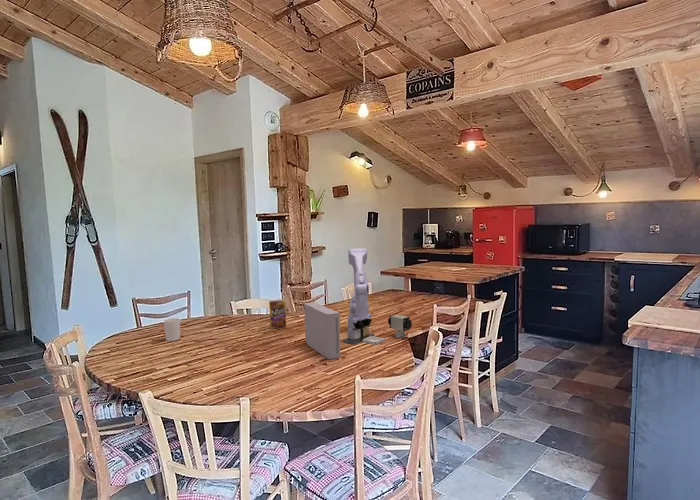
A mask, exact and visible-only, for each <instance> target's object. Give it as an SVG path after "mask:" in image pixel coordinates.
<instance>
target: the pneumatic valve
mask: <svg viewBox="0 0 700 500" xmlns="http://www.w3.org/2000/svg"><path fill="white" fill-rule="evenodd" d="M387 323H388V326H389V328H390V329H393V330H395V331H394V337H395V338H398V339H405V338H406V333H405V332H406V331H409V330H411V328H412V325H413V322H412V320H411V319H410V316H406V315H402V314H400V313H399V314H393V315H392V314H391V315H390V316H389V318H388V320H387Z"/></svg>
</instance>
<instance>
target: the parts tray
mask: <svg viewBox="0 0 700 500" xmlns="http://www.w3.org/2000/svg"><path fill="white" fill-rule="evenodd" d="M385 341H386V338H385V337H384V338H383V337H378V336H375V335H374V336H370V337H367V338H365V339H363V340H362V342H361V343H364V344H369V345H374V346H377V345H379V344H382V343H384V342H385Z"/></svg>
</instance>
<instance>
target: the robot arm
mask: <svg viewBox="0 0 700 500" xmlns="http://www.w3.org/2000/svg"><path fill="white" fill-rule="evenodd" d="M347 253H348V254H347V255H348V257H347V258H348V264H349V265H350V266H352V269H353V286H354V287H353V288H354V289H353V290H354V291H353V292H354V295H353V296H352V297H351V298H350V300H349V314H348V315H347V316H348V317H347V330H348V329H351V328H358V329H360V334H361V336H362V327H363V325H367V326H369V327H370V325H371V323H372V321H373V320H372V318H373V313H369V312H370V311H369V310H370V307H369V298H368V297H369V296H368V295H369V292H370V291H369V290H370V289H369V283H368V281H367V280H368V279H367V273H366V272H365V271H364V265H366V263H367V259H368V249H367V248H366V247H361V248H360V247H359V248H354V247H353V248H350V247H349V248H348V249H347ZM347 330H346V331H347Z"/></svg>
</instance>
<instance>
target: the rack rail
mask: <svg viewBox="0 0 700 500" xmlns="http://www.w3.org/2000/svg"><path fill="white" fill-rule="evenodd" d="M370 336H374V337H375V334H374V333H369V336H367V337H370ZM367 337H364V338H362V337H361V339H359V340H357V341H352V340H348V337H347V338H345V339H342V343H344V344H347V345H348V344H349V345H353V346H356V345H358V344H360V343H363V342H362V340H363V339H365V338H367Z"/></svg>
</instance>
